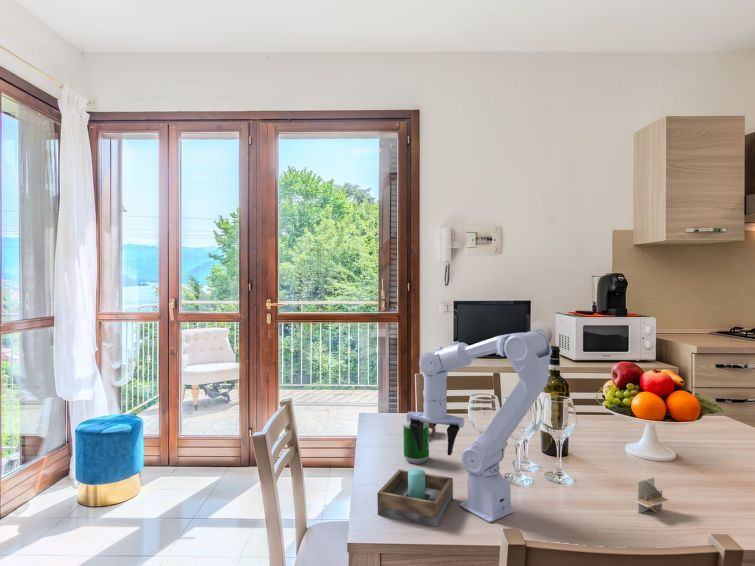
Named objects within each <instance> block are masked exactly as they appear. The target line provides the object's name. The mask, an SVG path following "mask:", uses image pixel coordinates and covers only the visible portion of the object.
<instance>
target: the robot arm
mask: <svg viewBox="0 0 755 566" xmlns="http://www.w3.org/2000/svg"><path fill="white" fill-rule="evenodd" d="M492 354H499V356H501V357H506V358H507V360H508V361H509V363H510V365H511V366H512V368H513V369H514V371H515V372H516V373H517V376H518V381H517V383H516V385H515V386H514V387H513V389H512V390H511V392H510V393H509V394H508V396H507V398H506V399H505V401H504V402H503V404H502V405H501V407H500V408H499V409H498V411H497V412H496V414H495V415H494V416H493V418H492V420H491V421H490V423H489V424H488V426H487V427H486V429H484V431H483V432H482V434H480V435H479V436H477V438H476V439H475V440H474V442H472V444H471V445H468V446H466V447H465V448H464V449H463V450H462V452H461V462H462V465H463V467H464V468H465V469H466V473H467V500H466V501H463V502H461V503H459V507H461V508H463V509H465V510H466V511H469V512H470V513H472V514H474V515H475V516H477V517H479V518H481V519H483V520H484V521H486V522H489V523H493V522H495V521H496V520H499V519H501V518H503V517H506V516H508V515H510V514H512V513H513V512H514V509H512V507H511V505H512V504H511V502H512V501H511V491H512V490H511V484H510V481H509V480H508V479H507V478H505V477H504V476H503V475H502V474H501V472H500V463H501V462H502V461H503V460H504V457H505V450H506V449H507V446H508V440H509V438H510V437H511V436H512V434H514V432H515V430H516V429H517V428H518V426H519V424H520V423H521V422H522V420H523V419H524V417H525V416H526V414H527V413H528V412H529V410H530V409H531V407H532V406H533V405H534V404H535V402H536V401H537V399H538V398H539V396H540V395H541V393H542V392H543V391H544V389H545V388H546V386H547V384H548V382H549V368H550V360H551V359H550V358H551V355H552V354H553V350H552V347H551V345H550V341H549V339H548V337H547V336H546V334H544V333H543V332H541V331H539V330H529V331H526V332H524V331H523V332H522V331H521V332H515V333H508V334H501V335H496V336H494V337H492V338H489V339H488V338H487V339H485V340H482V341H478V342H477V343H474V344H471V345H469V344H467V343H465V342H459V341H458V340H457V341H453V342H451V344H450V345H449V346H446V347H445V346H444V347H443V346H439V347H437V348H436V350H433V351H426V352H424V353H423V354H421V356H420V357H419V361H418V366H419V370H420V371H421V372H422V373H423V411H408V412H407V413H406V419H407V421H411V424H410V429H411V430H412V432H413V434H414V437H415V439H416V443H417V447H418V451H421V450H422V449H423V425H424V422H426V423H435V424H437V425H443V426H444V425H445V426H448V427H447V428H446V435H447V456H452V454H453V449H454V445H455V441H456V438H457V435H458V433H459V431H460V429H461V428H464V426H465V417H462V416H461V417H459V416H456V415H455V416H454V415H451V414H447V378H448V372H450V371H453V370H457V369H461V368H464V367H468V366H470V365H471V364H472V362H473V360H474V359H475V358H480V357H484V356H488V355H492Z"/></svg>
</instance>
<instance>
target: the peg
mask: <svg viewBox="0 0 755 566" xmlns="http://www.w3.org/2000/svg"><path fill="white" fill-rule="evenodd" d="M407 471H408V497H413V498H418V499H423V500H425V474H426V472H425V471H424V470H423V469H420V468H413V469H409V470H407Z"/></svg>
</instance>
